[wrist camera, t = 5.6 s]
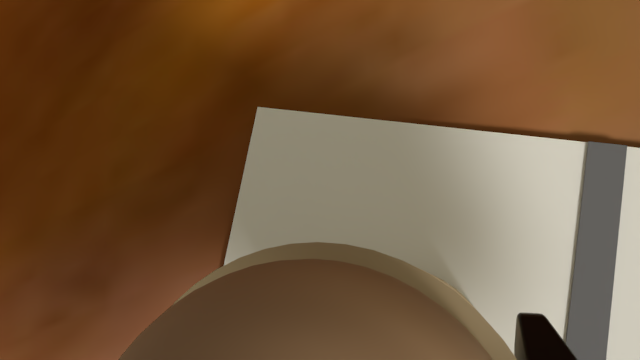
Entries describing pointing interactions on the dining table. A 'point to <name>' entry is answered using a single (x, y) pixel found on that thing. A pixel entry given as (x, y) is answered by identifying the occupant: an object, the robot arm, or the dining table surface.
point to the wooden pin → (320, 312)
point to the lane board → (461, 215)
